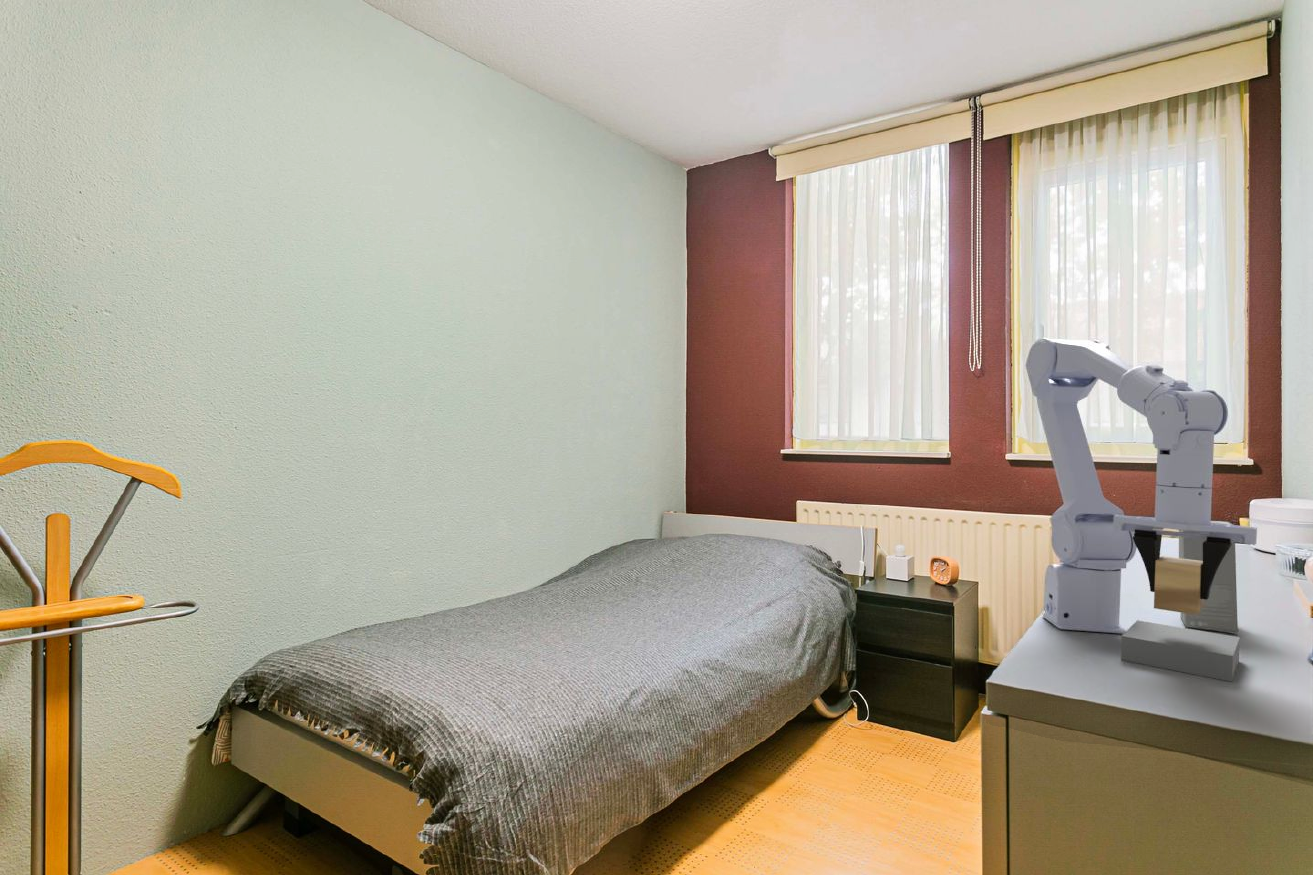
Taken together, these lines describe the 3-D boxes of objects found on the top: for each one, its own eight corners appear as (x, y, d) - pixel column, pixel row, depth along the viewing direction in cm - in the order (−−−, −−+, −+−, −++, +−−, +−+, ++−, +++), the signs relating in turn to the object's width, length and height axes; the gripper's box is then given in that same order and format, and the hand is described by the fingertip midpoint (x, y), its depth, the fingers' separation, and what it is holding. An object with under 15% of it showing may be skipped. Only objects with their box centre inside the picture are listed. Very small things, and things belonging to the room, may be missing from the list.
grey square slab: (1231, 681, 85) (1232, 655, 85) (1120, 659, 92) (1121, 635, 92) (1238, 660, 93) (1239, 637, 93) (1136, 642, 100) (1137, 620, 100)
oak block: (1198, 615, 89) (1200, 565, 89) (1153, 608, 92) (1155, 560, 92) (1202, 608, 92) (1204, 561, 92) (1159, 602, 95) (1161, 556, 95)
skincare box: (1238, 635, 105) (1243, 525, 105) (1177, 627, 109) (1181, 520, 109) (1230, 623, 113) (1234, 520, 112) (1173, 615, 116) (1177, 516, 116)
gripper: (1109, 483, 94) (1105, 589, 94) (1255, 492, 84) (1250, 610, 84) (1121, 481, 99) (1117, 581, 99) (1259, 489, 89) (1255, 600, 90)
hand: (1179, 594), depth 92 cm, fingers closed on oak block, 4 cm apart
